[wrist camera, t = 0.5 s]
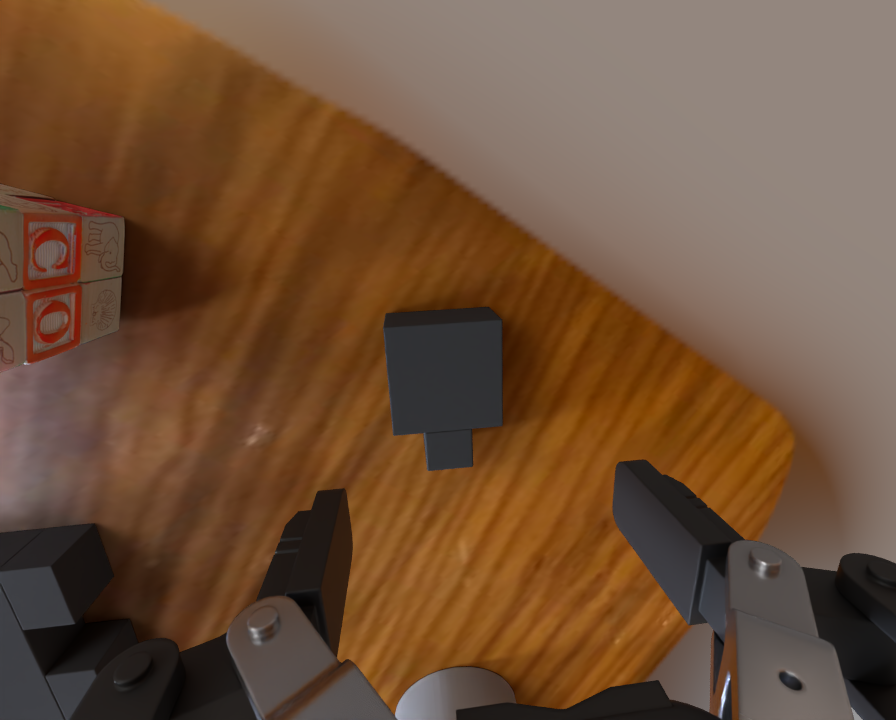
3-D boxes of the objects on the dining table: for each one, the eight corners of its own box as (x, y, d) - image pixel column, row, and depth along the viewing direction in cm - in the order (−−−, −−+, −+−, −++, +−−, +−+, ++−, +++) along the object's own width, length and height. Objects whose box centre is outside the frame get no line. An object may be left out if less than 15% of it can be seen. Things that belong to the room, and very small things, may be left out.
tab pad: (397, 443, 27) (396, 474, 24) (385, 313, 24) (383, 327, 21) (490, 435, 27) (503, 464, 24) (488, 306, 25) (502, 319, 21)
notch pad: (-120, 544, 25) (-198, 593, 22) (95, 522, 26) (51, 565, 23) (-39, 686, 29) (-96, 746, 26) (146, 663, 30) (114, 717, 27)
